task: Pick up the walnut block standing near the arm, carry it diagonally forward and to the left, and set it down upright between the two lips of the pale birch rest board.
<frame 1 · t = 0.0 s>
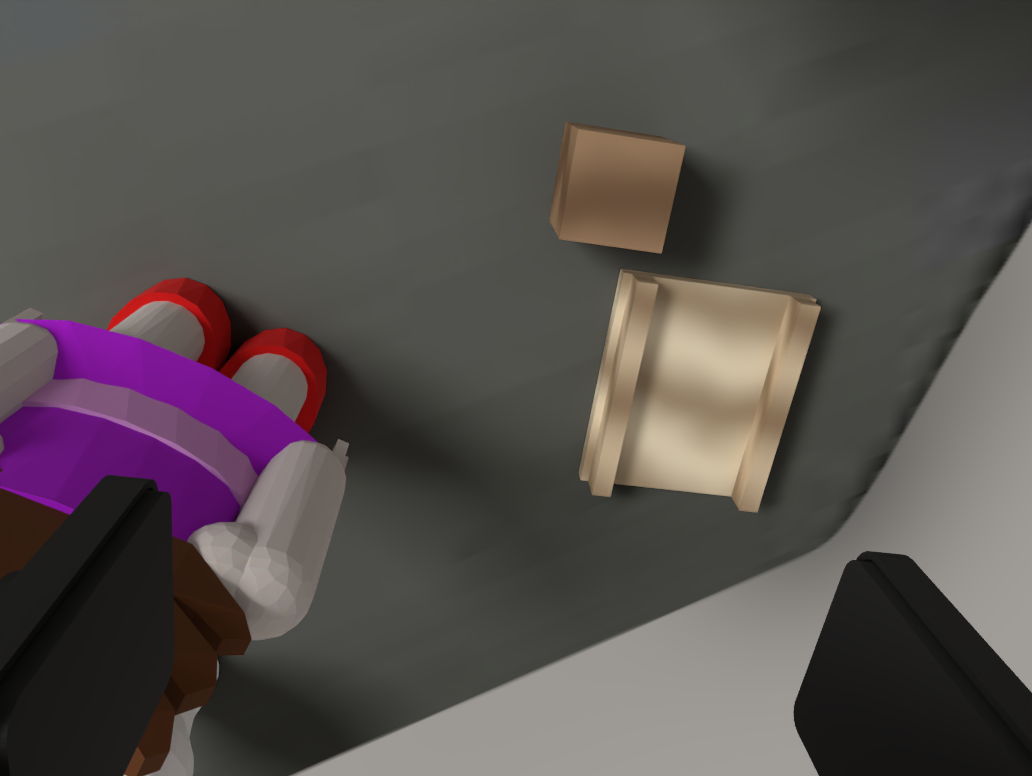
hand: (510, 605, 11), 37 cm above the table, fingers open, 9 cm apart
rest board: (689, 387, 50), on the table
walnut block: (603, 178, 45), on the table
cup: (165, 661, 56), on the table
toy: (226, 359, 48), on the table
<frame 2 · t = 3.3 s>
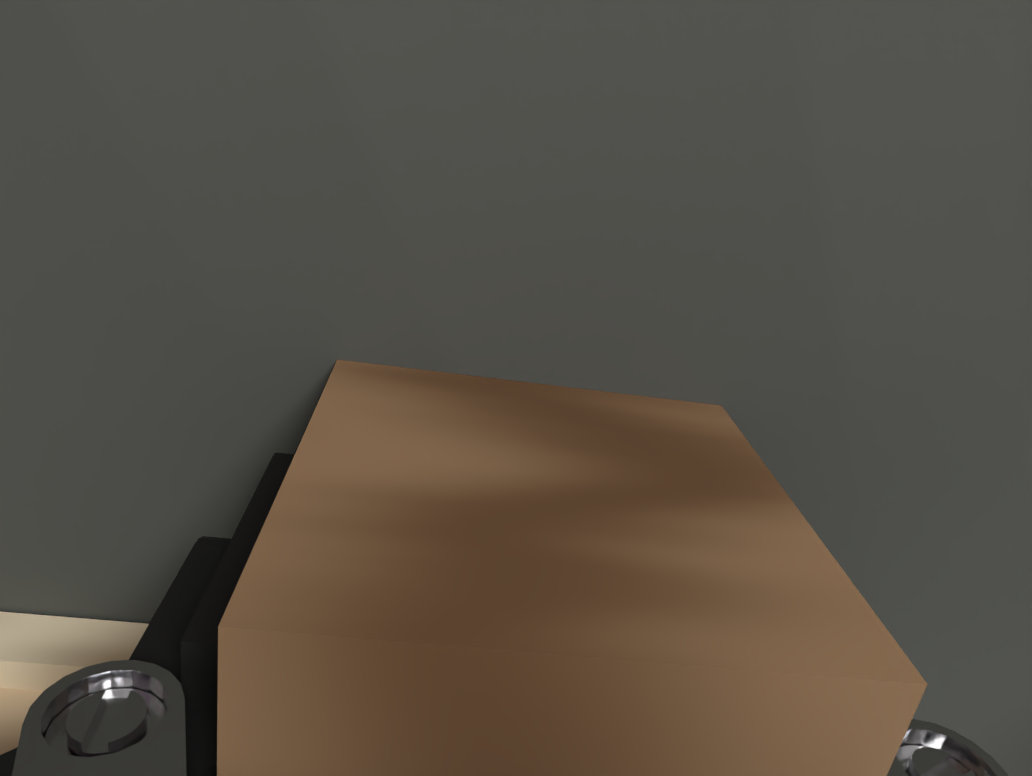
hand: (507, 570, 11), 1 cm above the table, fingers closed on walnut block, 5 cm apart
walnut block: (506, 546, 12), on the table, touching gripper
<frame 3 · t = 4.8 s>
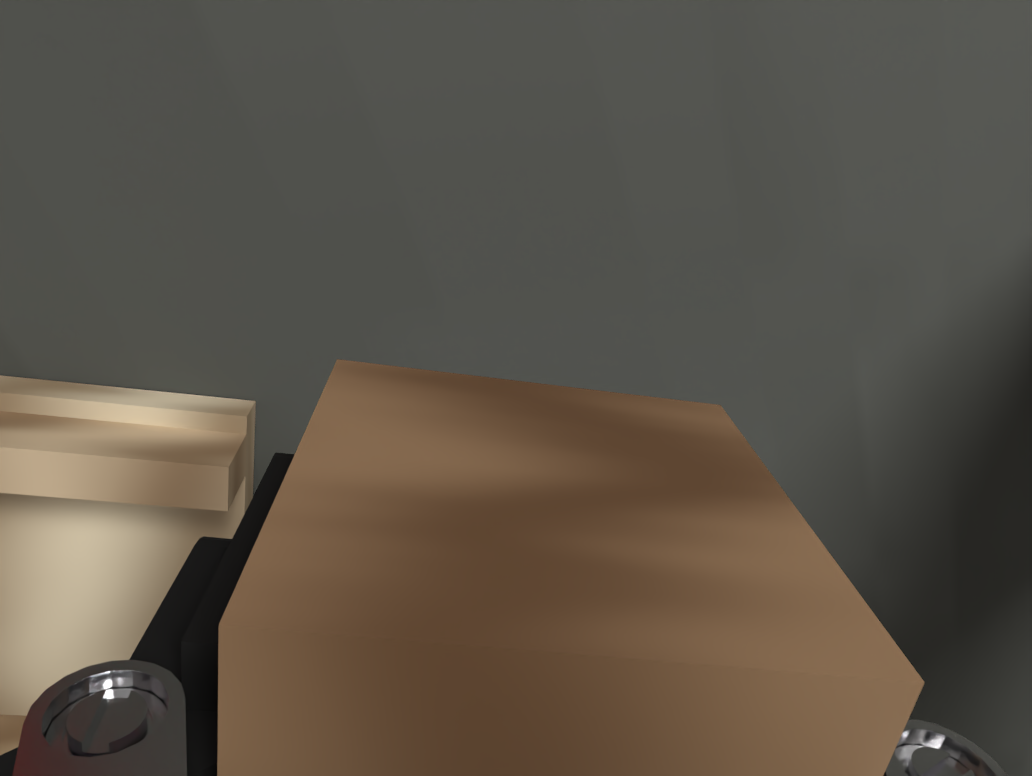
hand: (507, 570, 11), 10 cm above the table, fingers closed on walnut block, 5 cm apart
walnut block: (505, 546, 12), point 9 cm above the table, touching gripper
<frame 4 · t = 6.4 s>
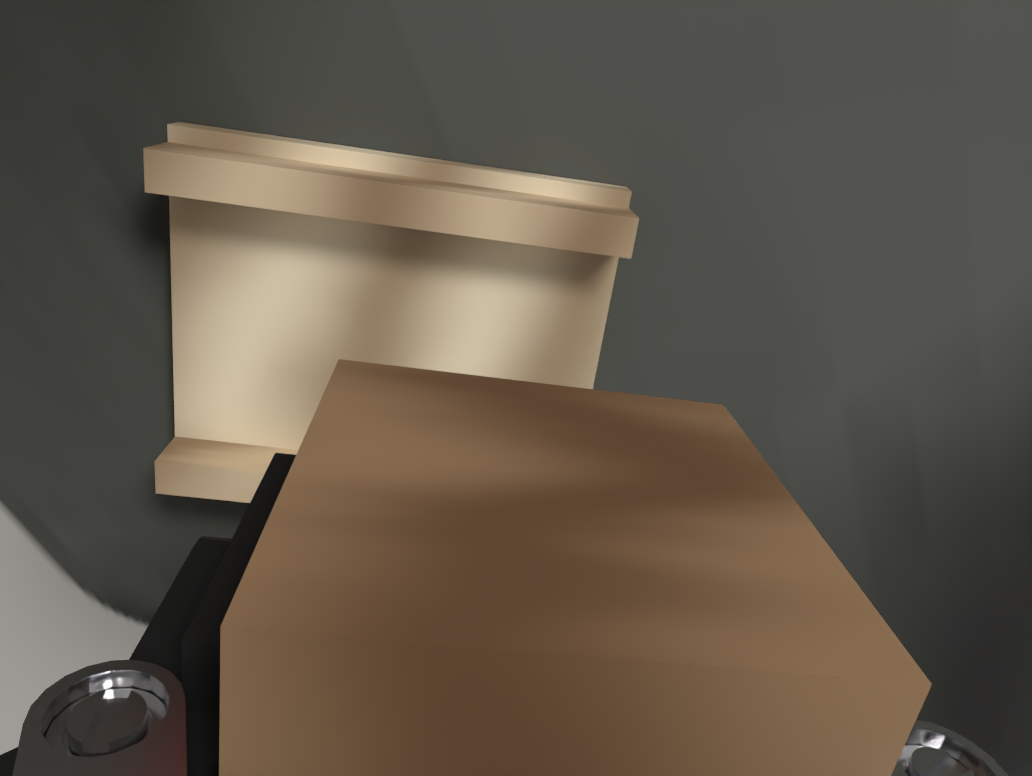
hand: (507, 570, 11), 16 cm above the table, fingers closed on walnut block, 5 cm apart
rest board: (392, 334, 27), on the table
walnut block: (507, 546, 12), point 15 cm above the table, touching gripper
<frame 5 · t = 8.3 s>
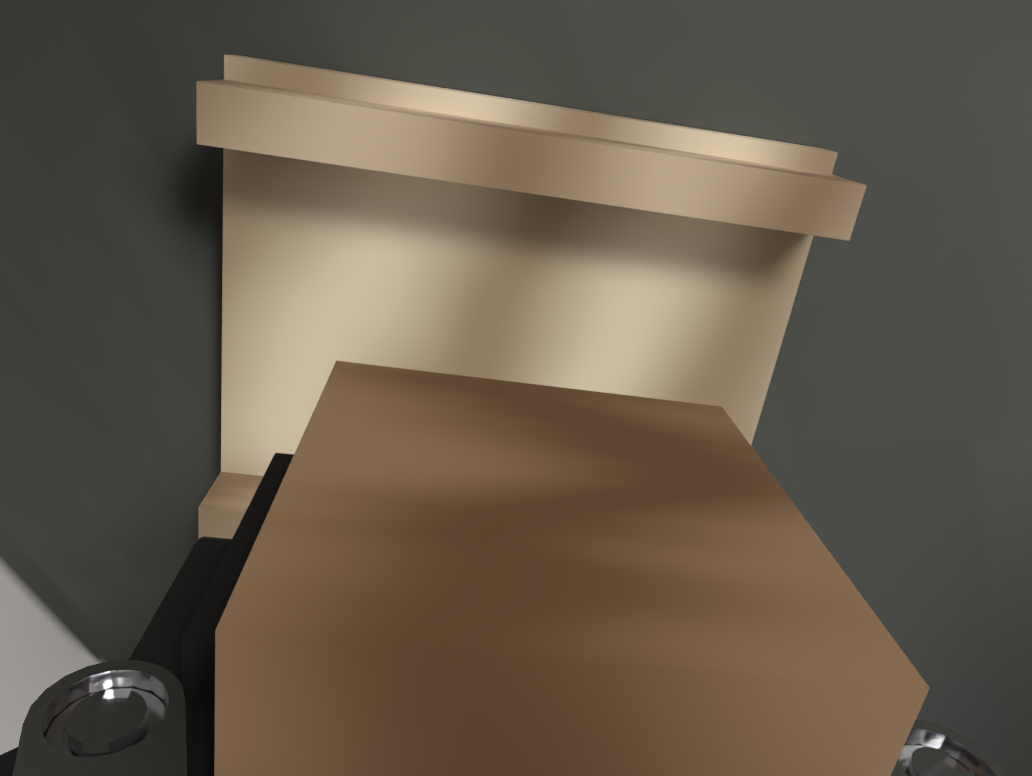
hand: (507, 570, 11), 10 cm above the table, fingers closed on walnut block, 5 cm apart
rest board: (503, 341, 21), on the table
walnut block: (506, 548, 12), point 9 cm above the table, touching gripper
when the fingers open (3 cm above the table, at t = 9.9 s): walnut block drops 1 cm, resting on rest board.
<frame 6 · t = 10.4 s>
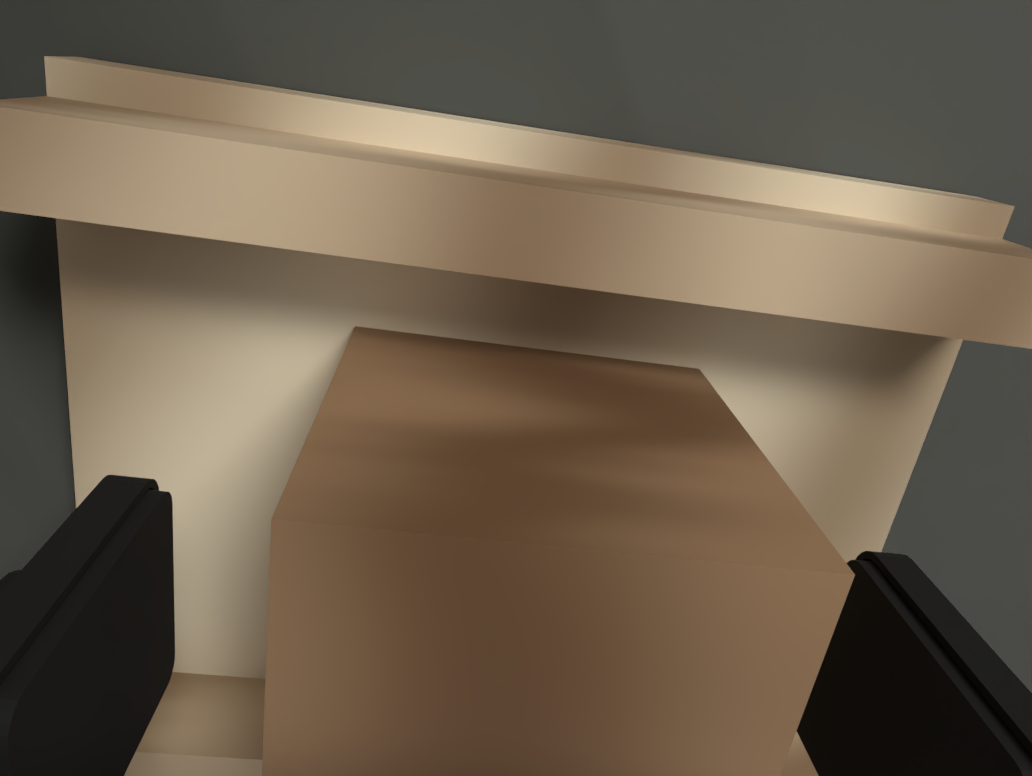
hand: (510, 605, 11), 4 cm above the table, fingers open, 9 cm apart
rest board: (500, 472, 14), on the table
walnut block: (506, 498, 13), point 1 cm above the table, touching rest board
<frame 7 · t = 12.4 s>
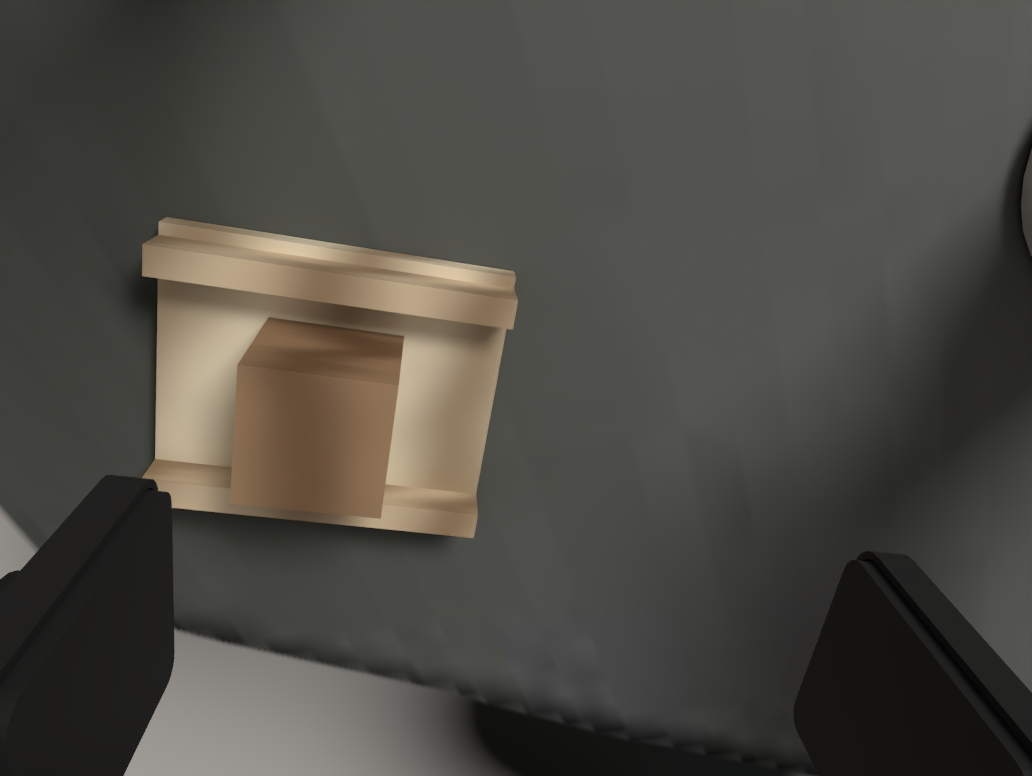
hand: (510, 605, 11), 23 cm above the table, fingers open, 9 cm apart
rest board: (332, 379, 34), on the table
walnut block: (331, 387, 33), point 1 cm above the table, touching rest board
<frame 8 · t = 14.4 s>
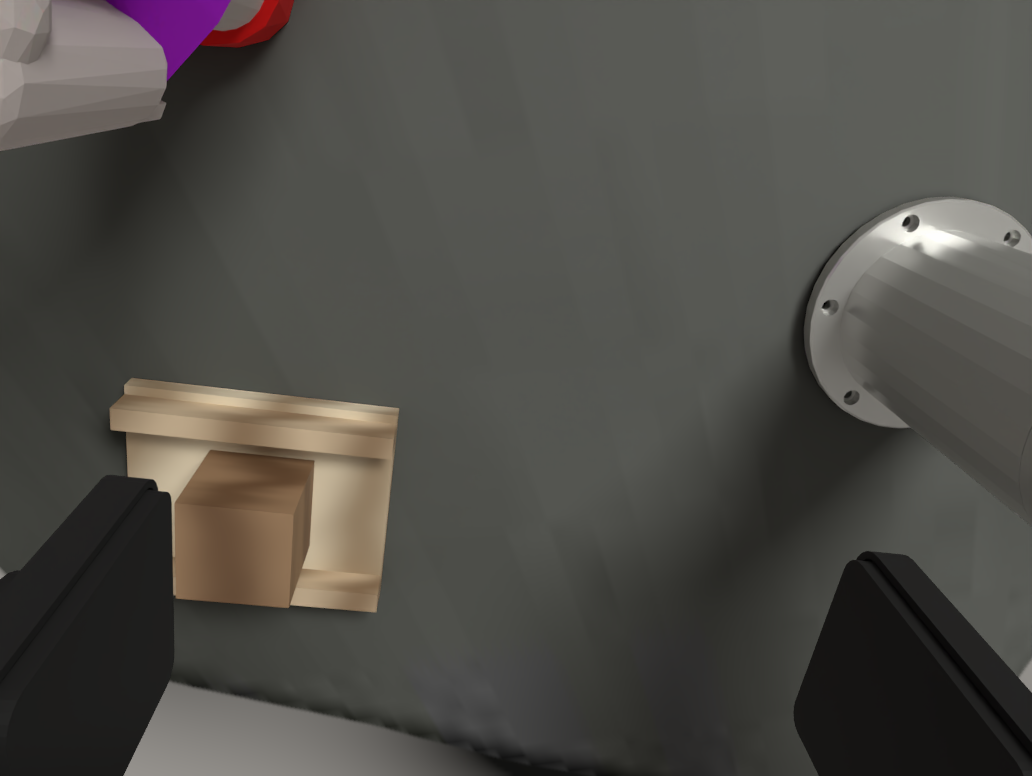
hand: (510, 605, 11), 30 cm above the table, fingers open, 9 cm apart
rest board: (264, 490, 44), on the table
walnut block: (261, 499, 43), point 1 cm above the table, touching rest board
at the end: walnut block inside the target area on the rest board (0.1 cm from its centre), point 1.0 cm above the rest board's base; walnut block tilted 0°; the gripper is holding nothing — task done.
